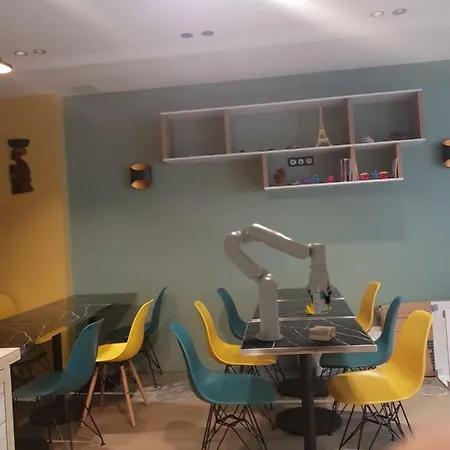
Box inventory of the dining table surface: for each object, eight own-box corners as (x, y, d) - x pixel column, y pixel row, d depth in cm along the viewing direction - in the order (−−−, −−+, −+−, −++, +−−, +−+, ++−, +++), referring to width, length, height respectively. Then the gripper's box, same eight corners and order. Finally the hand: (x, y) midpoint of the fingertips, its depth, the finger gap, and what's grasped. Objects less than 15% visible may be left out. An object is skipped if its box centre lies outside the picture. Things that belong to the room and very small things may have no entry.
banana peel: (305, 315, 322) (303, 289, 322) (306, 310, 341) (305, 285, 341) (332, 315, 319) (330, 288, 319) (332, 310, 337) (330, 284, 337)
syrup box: (320, 314, 254) (318, 285, 254) (313, 313, 259) (311, 284, 259) (329, 313, 256) (328, 284, 256) (322, 311, 262) (321, 283, 262)
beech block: (328, 341, 251) (327, 331, 251) (309, 339, 256) (308, 329, 256) (335, 337, 259) (335, 327, 259) (317, 335, 265) (316, 325, 265)
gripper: (300, 268, 261) (302, 303, 261) (330, 268, 249) (332, 305, 249) (308, 267, 266) (310, 301, 266) (338, 267, 255) (340, 303, 255)
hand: (320, 303), depth 258 cm, fingers closed on syrup box, 7 cm apart
